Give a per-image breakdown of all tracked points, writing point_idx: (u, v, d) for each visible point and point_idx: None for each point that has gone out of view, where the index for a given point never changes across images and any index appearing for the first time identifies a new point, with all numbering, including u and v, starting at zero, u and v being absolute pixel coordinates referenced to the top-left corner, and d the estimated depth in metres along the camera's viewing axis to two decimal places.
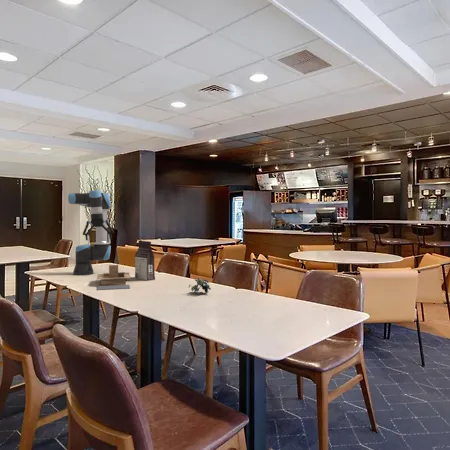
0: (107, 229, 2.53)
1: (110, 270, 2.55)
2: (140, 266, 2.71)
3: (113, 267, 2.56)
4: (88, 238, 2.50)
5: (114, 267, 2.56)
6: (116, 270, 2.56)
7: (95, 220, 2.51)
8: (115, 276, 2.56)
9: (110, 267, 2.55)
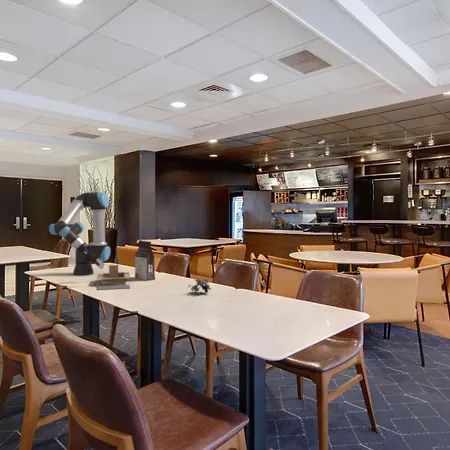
0: None
1: (110, 270, 2.55)
2: (140, 266, 2.71)
3: (113, 267, 2.56)
4: None
5: (114, 267, 2.56)
6: (116, 270, 2.56)
7: None
8: (115, 276, 2.56)
9: (110, 267, 2.55)
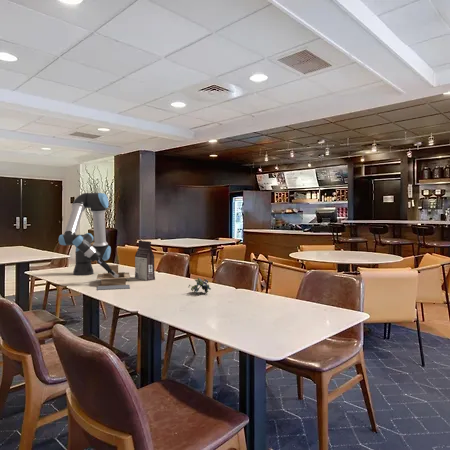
0: None
1: None
2: (140, 266, 2.71)
3: (113, 267, 2.56)
4: None
5: (114, 267, 2.56)
6: (116, 270, 2.56)
7: None
8: None
9: (110, 267, 2.55)
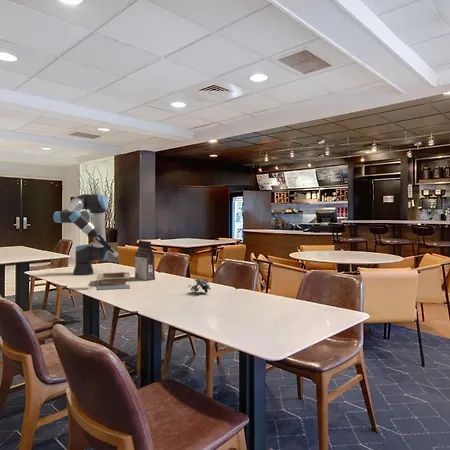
0: None
1: None
2: (140, 266, 2.71)
3: (112, 244, 2.40)
4: None
5: (113, 244, 2.40)
6: (115, 248, 2.40)
7: None
8: None
9: (109, 244, 2.39)
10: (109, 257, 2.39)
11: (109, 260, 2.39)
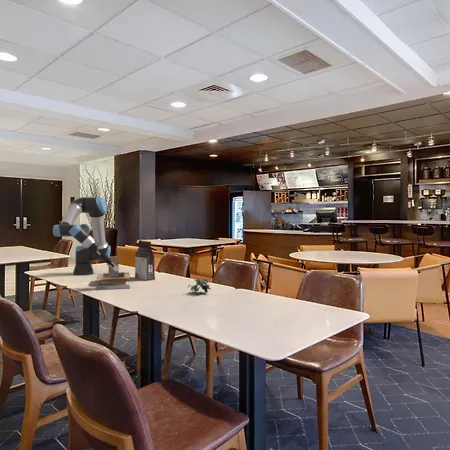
0: None
1: None
2: (140, 266, 2.71)
3: (113, 259, 2.37)
4: None
5: (114, 259, 2.37)
6: (116, 262, 2.37)
7: None
8: None
9: (110, 258, 2.36)
10: (109, 271, 2.36)
11: (109, 274, 2.36)
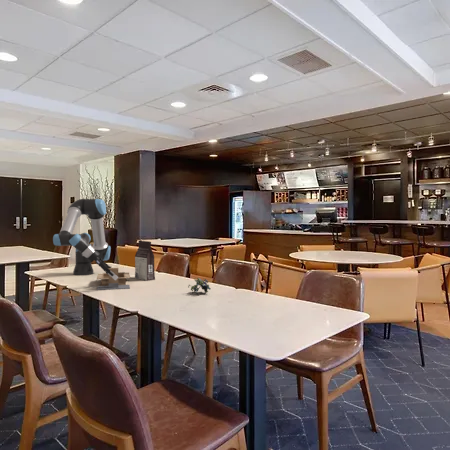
0: None
1: None
2: (140, 266, 2.71)
3: (113, 270, 2.37)
4: None
5: (114, 270, 2.38)
6: (116, 273, 2.38)
7: None
8: None
9: (110, 270, 2.37)
10: (110, 283, 2.37)
11: (110, 286, 2.37)
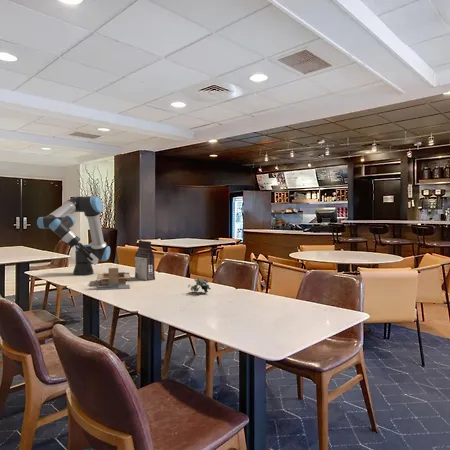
0: None
1: (110, 273, 2.37)
2: (140, 266, 2.71)
3: (113, 270, 2.37)
4: None
5: (114, 270, 2.38)
6: (116, 273, 2.38)
7: None
8: (115, 280, 2.38)
9: (110, 270, 2.37)
10: (110, 283, 2.37)
11: (110, 286, 2.37)
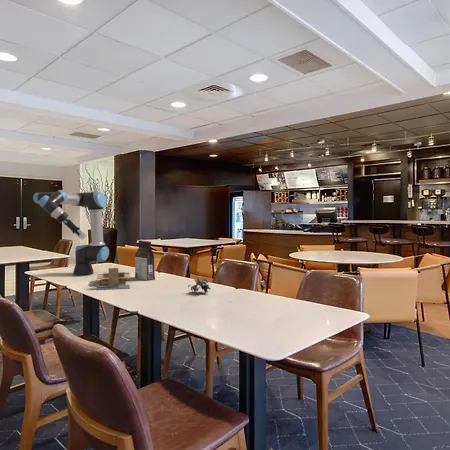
0: None
1: (110, 273, 2.37)
2: (140, 266, 2.71)
3: (113, 270, 2.37)
4: None
5: (114, 270, 2.38)
6: (116, 273, 2.38)
7: None
8: (115, 280, 2.38)
9: (110, 270, 2.37)
10: (110, 283, 2.37)
11: (110, 286, 2.37)
